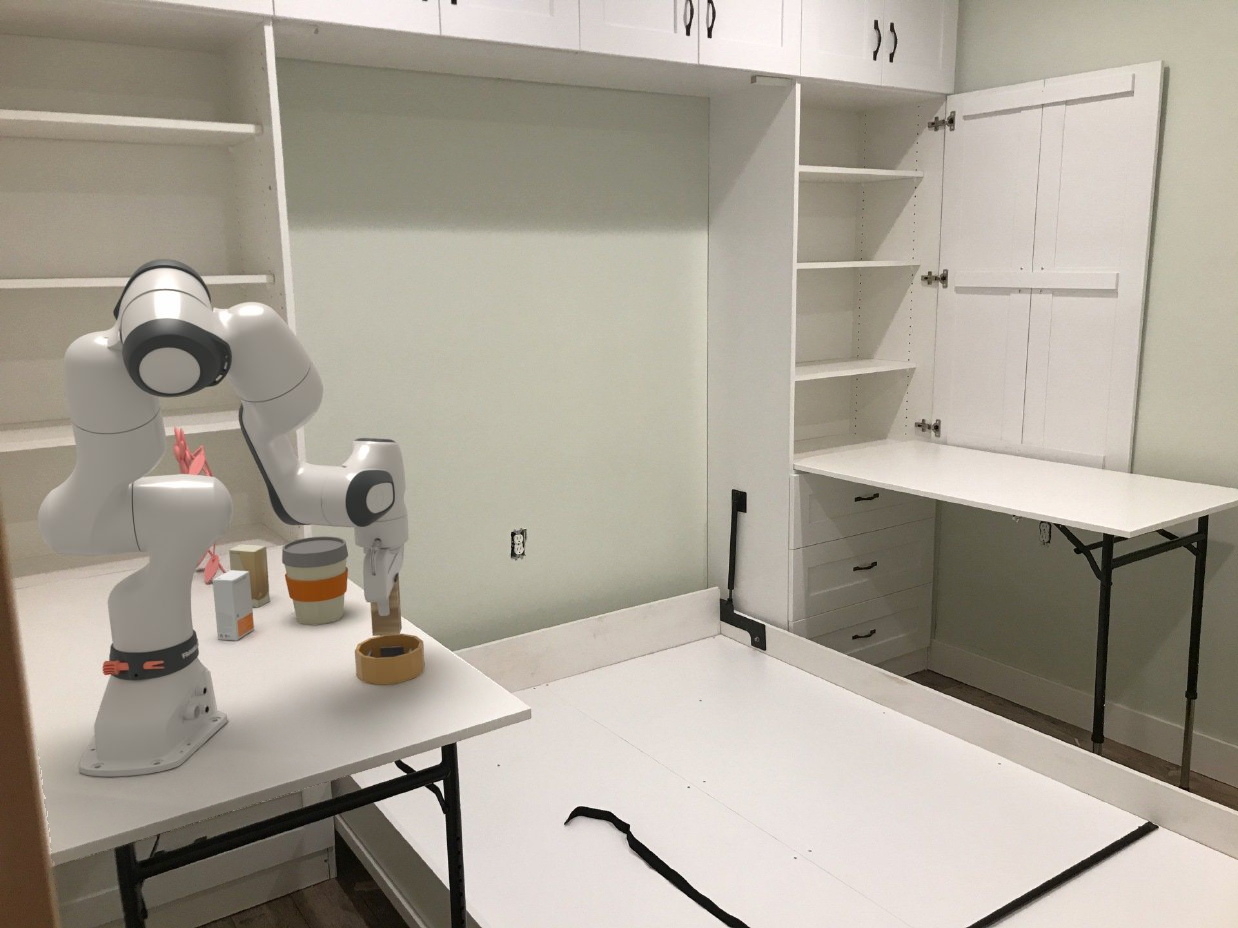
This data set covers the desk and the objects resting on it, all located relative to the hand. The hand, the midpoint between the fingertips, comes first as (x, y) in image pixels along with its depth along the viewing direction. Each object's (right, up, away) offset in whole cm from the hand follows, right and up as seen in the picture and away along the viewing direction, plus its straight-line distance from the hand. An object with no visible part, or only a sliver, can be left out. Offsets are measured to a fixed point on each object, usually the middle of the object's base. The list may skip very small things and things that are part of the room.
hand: (386, 609), depth 168 cm
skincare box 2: (-34, -8, +20) cm, 40 cm away
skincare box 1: (-37, -4, +38) cm, 53 cm away
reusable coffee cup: (-20, -6, +29) cm, 36 cm away
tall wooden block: (0, -4, +1) cm, 4 cm away
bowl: (0, -11, +2) cm, 11 cm away
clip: (0, -11, +2) cm, 11 cm away
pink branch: (-57, -1, +55) cm, 79 cm away
